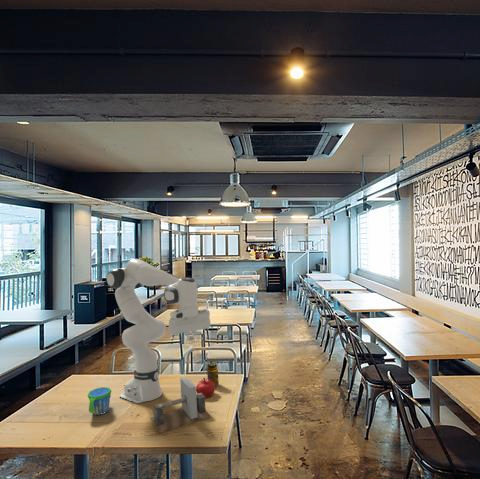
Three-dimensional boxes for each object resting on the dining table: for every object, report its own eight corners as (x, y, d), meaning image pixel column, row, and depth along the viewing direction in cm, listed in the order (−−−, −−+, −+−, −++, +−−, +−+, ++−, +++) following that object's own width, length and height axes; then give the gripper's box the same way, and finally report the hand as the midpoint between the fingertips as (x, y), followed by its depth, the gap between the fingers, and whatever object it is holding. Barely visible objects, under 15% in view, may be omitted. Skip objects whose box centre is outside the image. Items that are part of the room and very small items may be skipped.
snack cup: (99, 421, 165) (98, 399, 165) (80, 419, 168) (79, 398, 168) (119, 405, 180) (118, 385, 180) (101, 403, 183) (100, 384, 183)
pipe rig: (158, 433, 152) (157, 412, 152) (150, 419, 164) (149, 399, 164) (210, 417, 163) (209, 397, 163) (199, 405, 176) (198, 387, 175)
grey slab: (191, 419, 159) (189, 387, 159) (181, 407, 171) (180, 378, 171) (197, 417, 161) (195, 386, 161) (187, 406, 172) (186, 377, 172)
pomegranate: (217, 397, 184) (216, 379, 183) (198, 400, 181) (197, 382, 180) (213, 389, 193) (212, 372, 193) (194, 392, 190) (194, 375, 190)
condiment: (222, 385, 198) (220, 363, 198) (210, 390, 192) (209, 368, 192) (213, 381, 203) (212, 361, 203) (201, 386, 197) (200, 365, 197)
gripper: (206, 307, 177) (208, 335, 177) (166, 313, 168) (168, 342, 168) (211, 309, 172) (213, 338, 172) (170, 316, 162) (172, 346, 162)
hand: (190, 340), depth 170 cm, fingers closed
